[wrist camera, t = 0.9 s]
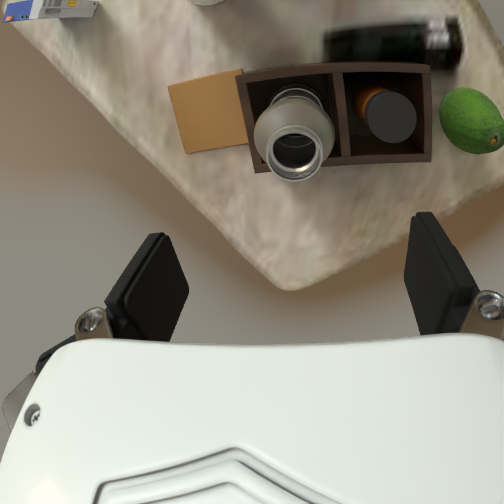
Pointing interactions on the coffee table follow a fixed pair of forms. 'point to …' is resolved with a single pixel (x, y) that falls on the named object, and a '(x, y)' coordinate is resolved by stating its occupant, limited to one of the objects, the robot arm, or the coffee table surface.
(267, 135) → the metal flask
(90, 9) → the walkman
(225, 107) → the cork mat
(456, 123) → the fruit
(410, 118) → the spice jar
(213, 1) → the water bottle
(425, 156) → the brown divided box
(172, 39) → the coffee table surface
